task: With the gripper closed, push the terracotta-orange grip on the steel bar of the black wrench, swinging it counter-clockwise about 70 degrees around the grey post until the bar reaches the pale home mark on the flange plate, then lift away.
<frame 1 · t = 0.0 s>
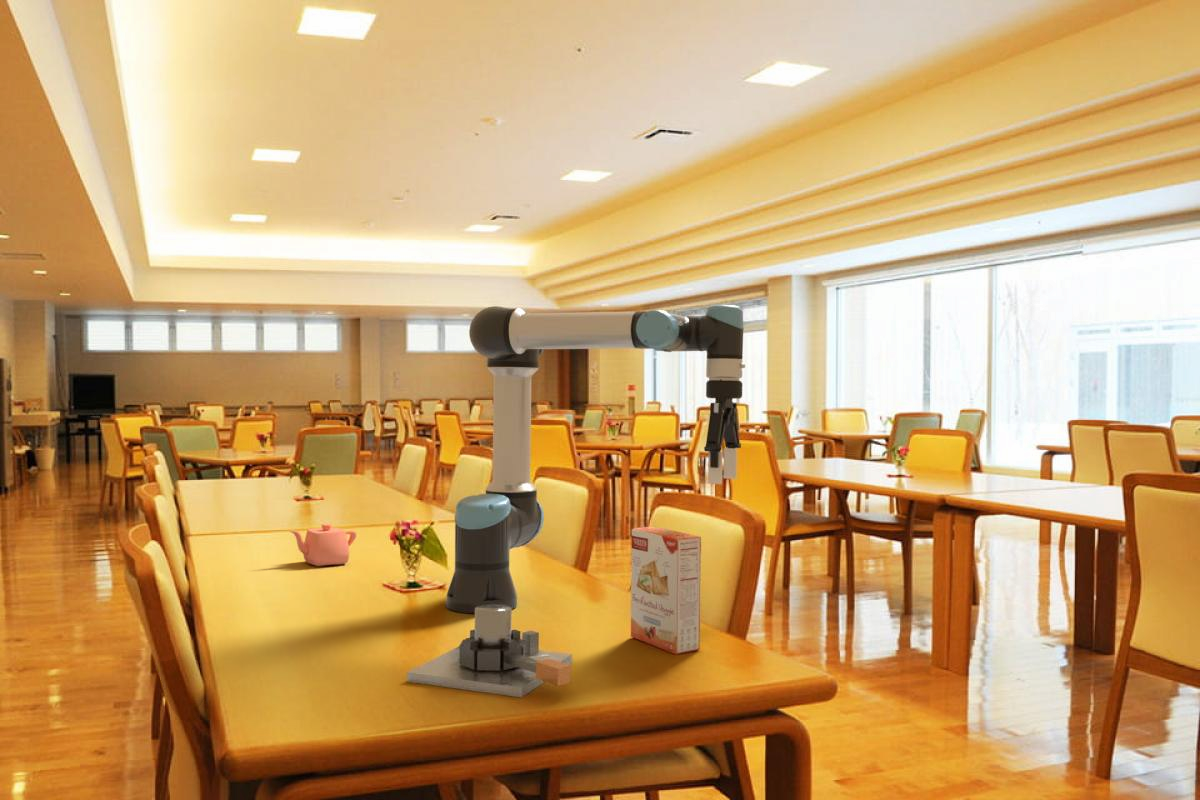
hand: (722, 481, 200), 28 cm above the table, fingers open, 13 cm apart
cracker box: (663, 645, 176), on the table
wrench: (516, 656, 153), point 4 cm above the table, hinge at 0.0°
flange plate: (492, 672, 158), on the table
teapot: (323, 564, 252), on the table
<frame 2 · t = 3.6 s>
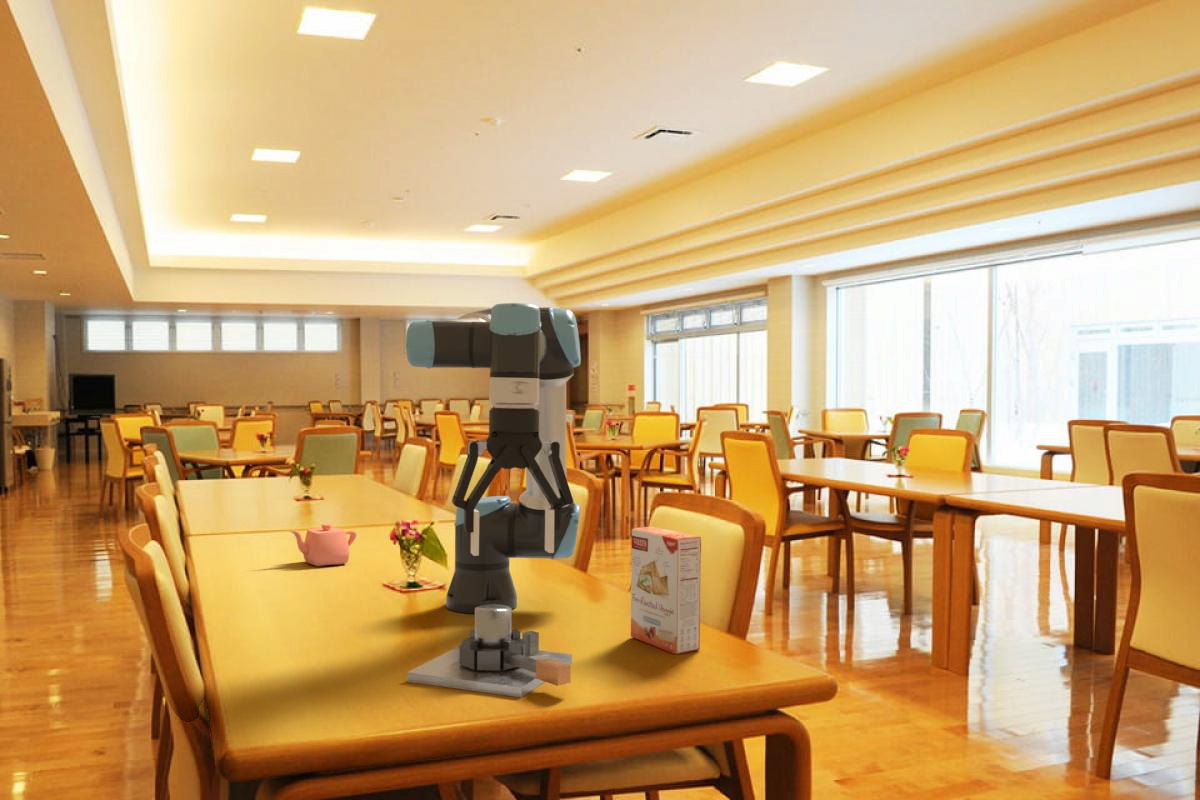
hand: (512, 552, 144), 22 cm above the table, fingers open, 11 cm apart
nothing on the table moved.
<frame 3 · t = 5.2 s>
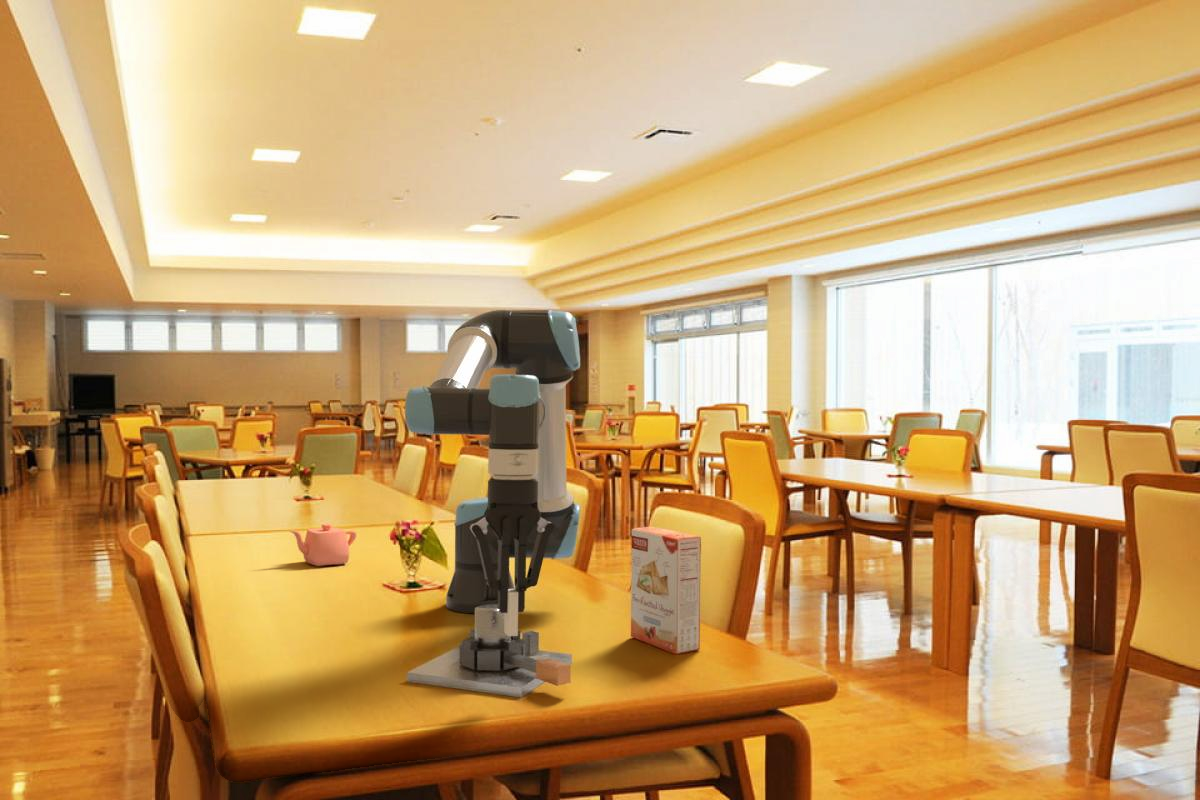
hand: (510, 633, 144), 10 cm above the table, fingers closed
nothing on the table moved.
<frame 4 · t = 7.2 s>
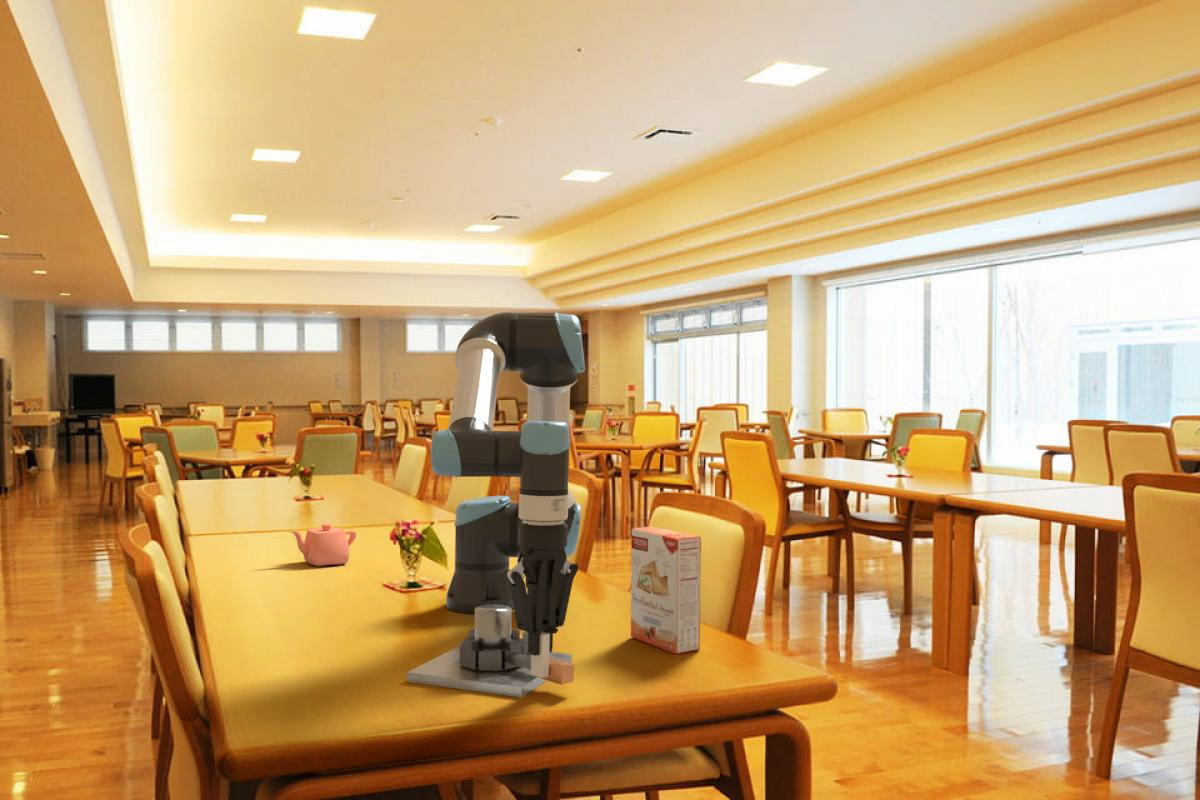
hand: (539, 674, 147), 3 cm above the table, fingers closed
wrench: (517, 655, 153), point 4 cm above the table, hinge at 2.6°, touching gripper
everything else where it was.
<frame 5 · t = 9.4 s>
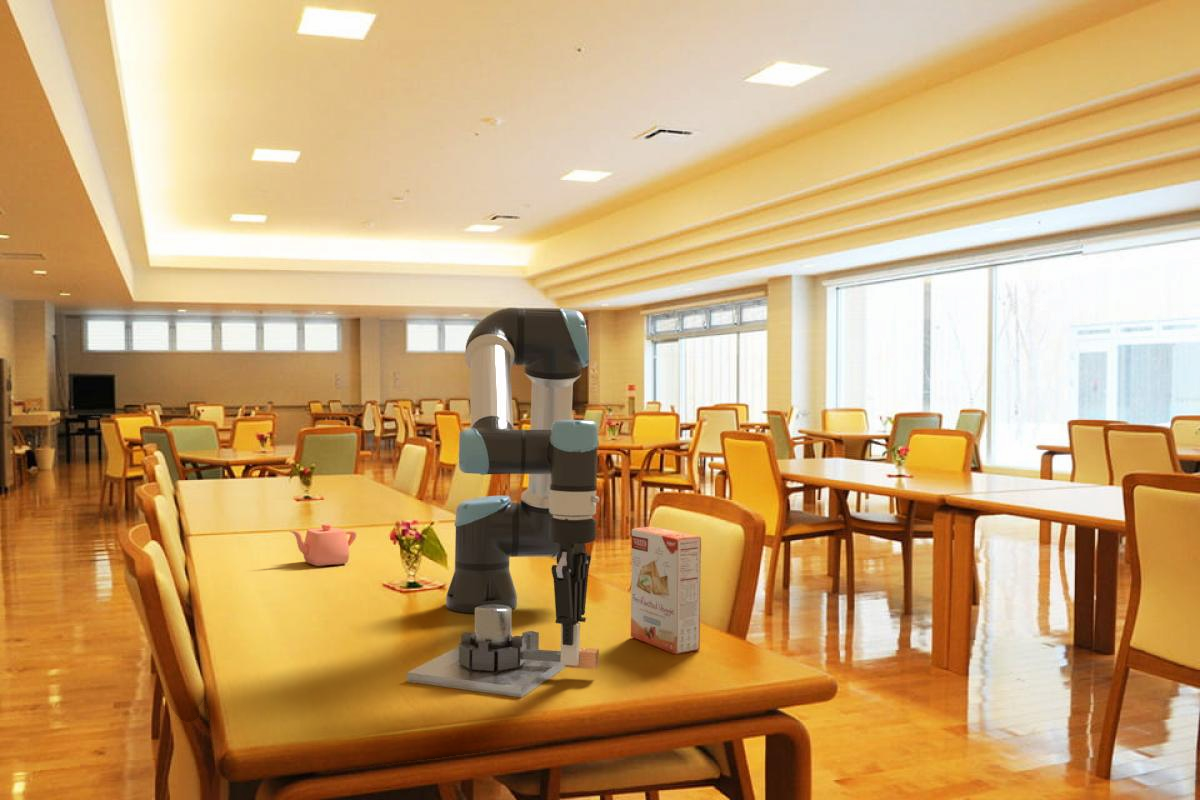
hand: (569, 663, 153), 3 cm above the table, fingers closed
wrench: (528, 650, 156), point 4 cm above the table, hinge at 35.0°, touching gripper
everything else where it was.
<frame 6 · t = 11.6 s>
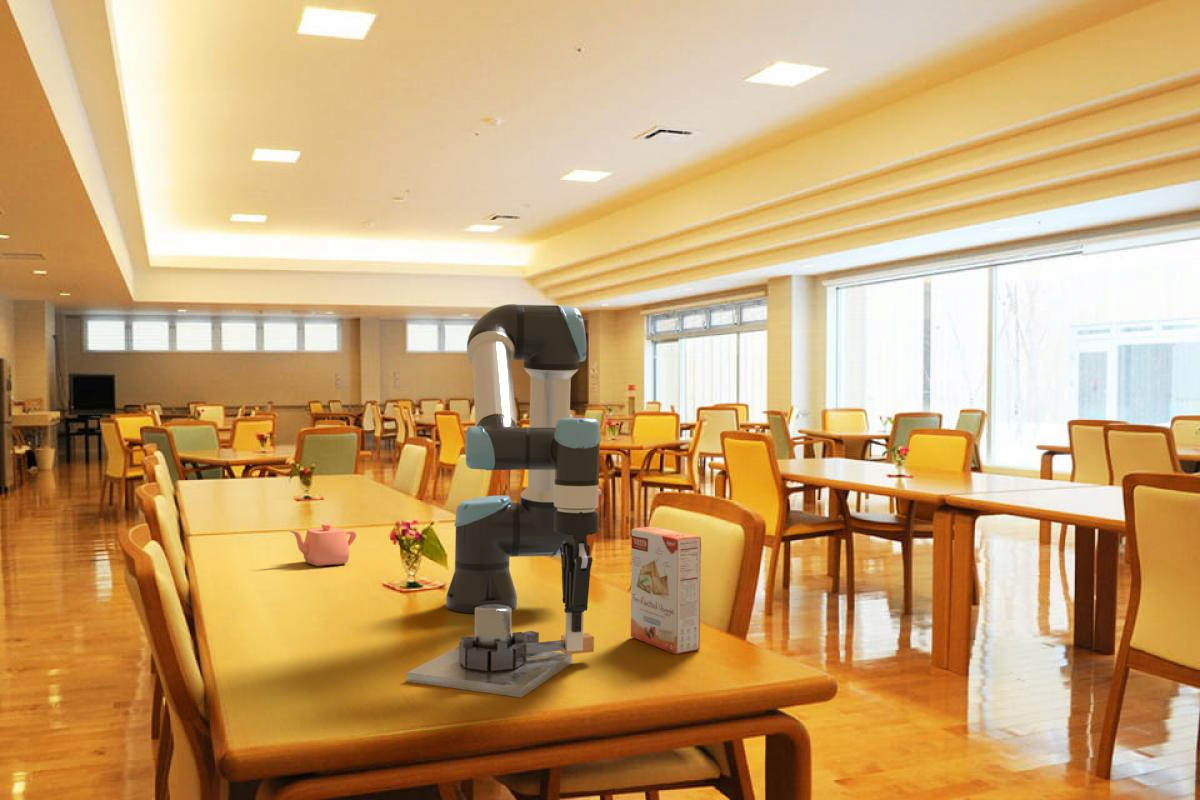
hand: (574, 649, 161), 3 cm above the table, fingers closed
wrench: (528, 644, 160), point 4 cm above the table, hinge at 68.7°, touching gripper
everything else where it was.
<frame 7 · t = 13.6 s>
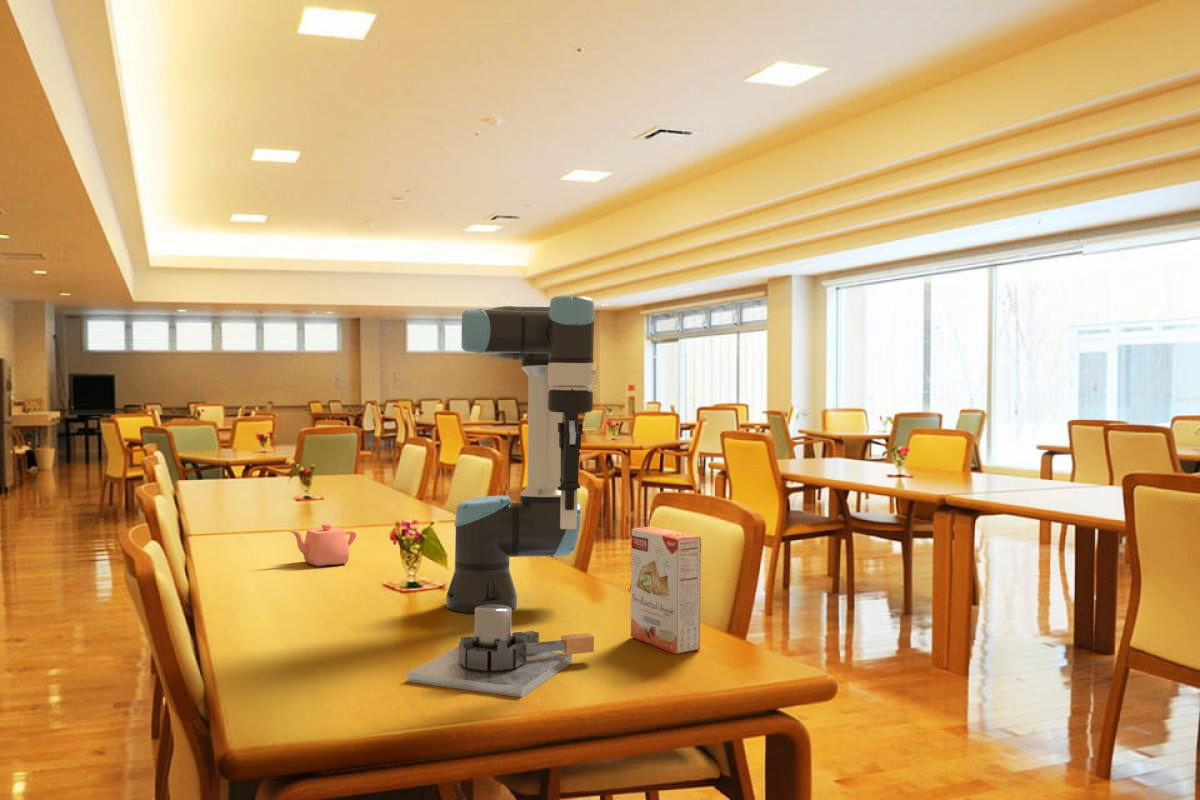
hand: (568, 528, 162), 23 cm above the table, fingers closed
wrench: (528, 644, 160), point 4 cm above the table, hinge at 68.7°
everything else where it was.
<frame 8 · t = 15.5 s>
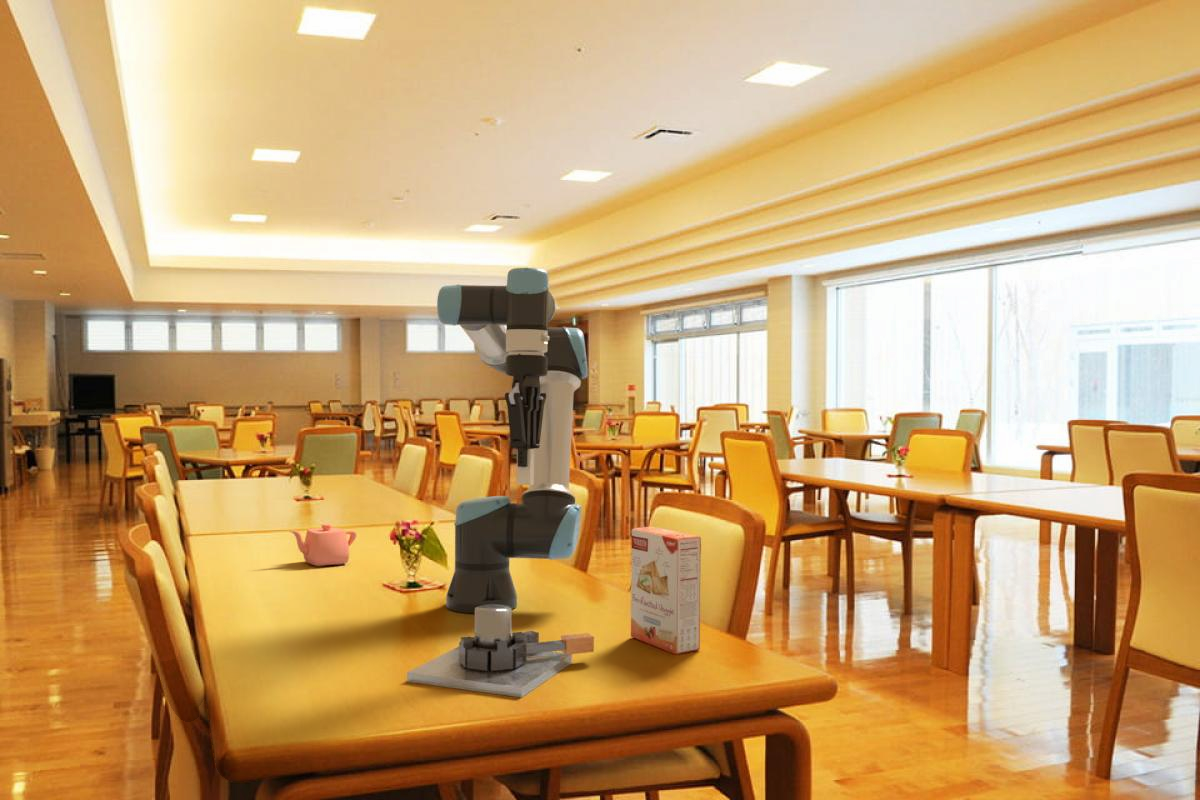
hand: (525, 484, 173), 29 cm above the table, fingers closed
nothing on the table moved.
at the end: wrench at +69° (first picture: +0°) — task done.
